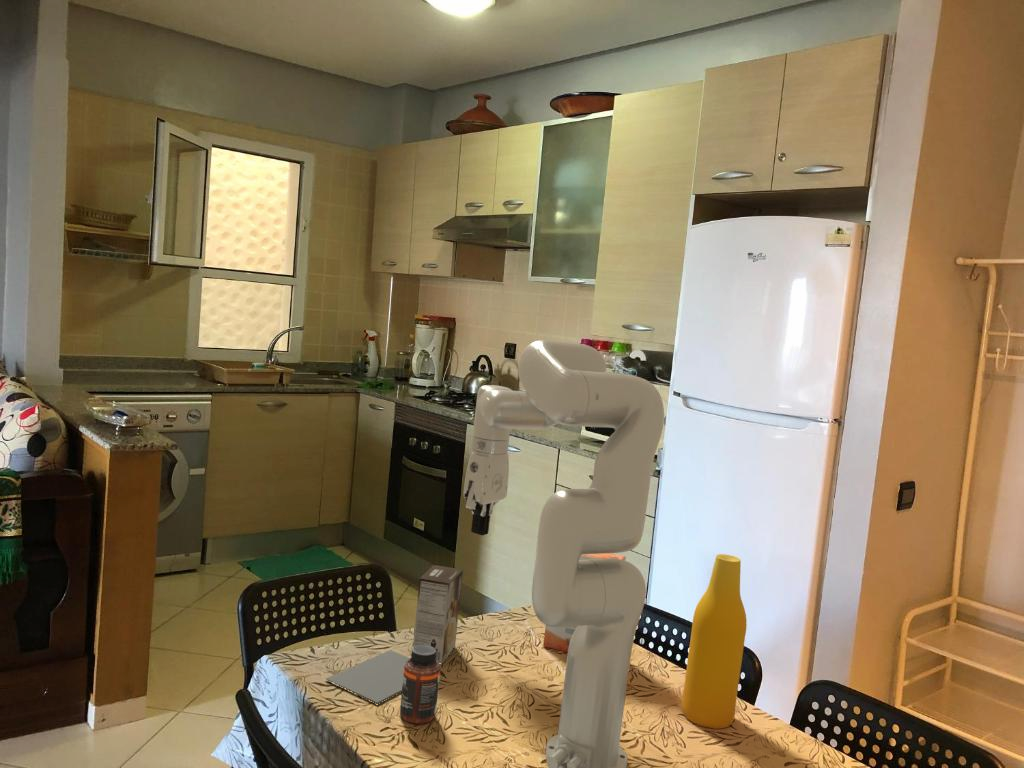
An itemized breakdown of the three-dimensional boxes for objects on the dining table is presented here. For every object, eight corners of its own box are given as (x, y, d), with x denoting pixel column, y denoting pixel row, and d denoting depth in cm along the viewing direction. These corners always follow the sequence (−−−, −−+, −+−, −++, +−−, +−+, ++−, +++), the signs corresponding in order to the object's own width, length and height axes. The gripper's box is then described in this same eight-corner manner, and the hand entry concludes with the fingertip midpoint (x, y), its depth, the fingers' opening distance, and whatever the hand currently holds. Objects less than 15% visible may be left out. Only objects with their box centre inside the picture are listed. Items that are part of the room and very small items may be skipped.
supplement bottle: (442, 715, 130) (450, 649, 129) (421, 729, 125) (428, 661, 124) (414, 703, 133) (420, 638, 132) (391, 716, 128) (398, 649, 127)
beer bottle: (744, 727, 138) (767, 566, 136) (700, 732, 134) (722, 567, 132) (712, 701, 146) (733, 549, 144) (670, 705, 143) (691, 549, 141)
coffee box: (425, 641, 159) (433, 563, 158) (455, 647, 158) (464, 569, 156) (410, 659, 150) (419, 577, 149) (442, 665, 149) (451, 583, 147)
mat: (377, 705, 131) (377, 702, 131) (325, 681, 138) (325, 678, 137) (439, 672, 146) (439, 670, 146) (390, 652, 152) (390, 649, 152)
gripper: (484, 453, 153) (473, 544, 154) (524, 446, 165) (513, 531, 167) (453, 445, 157) (443, 535, 158) (494, 439, 169) (484, 522, 171)
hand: (479, 533), depth 163 cm, fingers closed
